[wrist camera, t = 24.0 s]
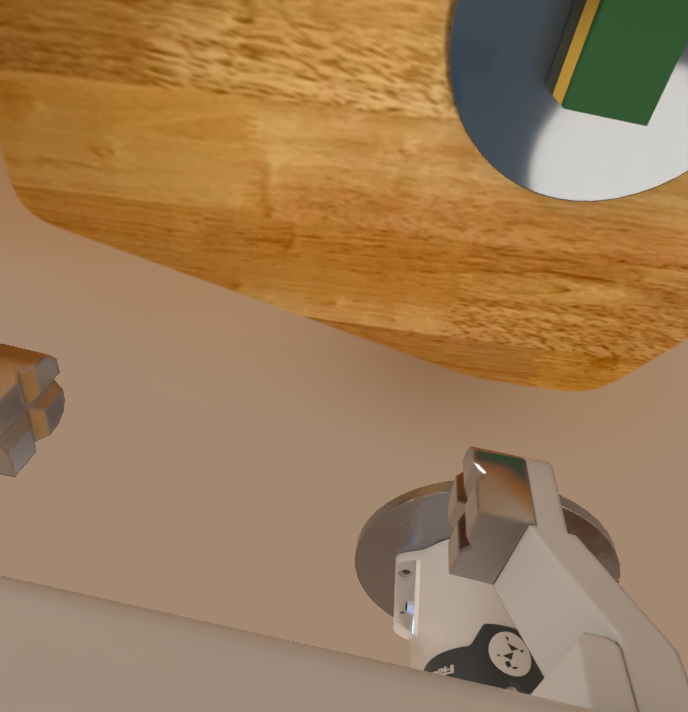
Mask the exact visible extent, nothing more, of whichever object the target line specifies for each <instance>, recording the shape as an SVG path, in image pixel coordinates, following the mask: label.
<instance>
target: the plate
mask: <svg viewBox="0 0 688 712" xmlns="http://www.w3.org/2000/svg"><path fill="white" fill-rule="evenodd" d="M586 1H587V0H457V1H456V5H455V10H454V15H453V21H452V26H451V36H450V51H449V56H450V75H451V82H452V88H453V93H454V99H455V102H456V105H457V108H458V111H459V115H460V118H461V120H462V122H463V124H464V126H465V128H466V131H467V133H468V135H469V137H470V138H471V140H472V141H473V143H474V144H475V146H476V147H477V149H478V150H479V152H480V153H481V154H482V155H483V156H484V157H485V159H486V160H487V161H488V162H489V163H490V164H491V165H492V166H493V167H494V168H495V169H496V170H498V171H499V172H500V173H501V174H502V175H504V176H505V177H506V178H508V179H509V180H511V181H513V182H514V183H516V184H518V185H519V186H521V187H523V188H525V189H528V190H530V191H532V192H535V193H537V194H540V195H544V196H548V197H551V198H555V199H562V200H569V201H602V200H612V199H617V198H621V197H626V196H630V195H635V194H638V193H641V192H644V191H646V190H649V189H652V188H655V187H657V186H660V185H662V184H664V183H666V182H668V181H671V180H673V179H675V178H677V177H678V176H680V175H682V174H684V173H685V172H687V171H688V41H687V43H686V45H685V47H684V49H683V51H682V53H681V55H680V57H679V60H678V62H677V64H676V66H675V68H674V70H673V72H672V74H671V76H670V79H669V81H668V83H667V85H666V87H665V89H664V91H663V93H662V96H661V98H660V100H659V102H658V104H657V106H656V108H655V110H654V112H653V115H652V117H651V119H650V121H649V123H648V125H647V126H643V125H638V124H634V123H629V122H624V121H620V120H615V119H610V118H605V117H601V116H596V115H591V114H586V113H582V112H577V111H572V110H567V109H564V108H563V107H562V106H561V105H560V104H559V103H558V102H557V100H556V99H555V98H554V97H553V92H554V89H555V87H556V84H557V81H558V78H559V76H560V73H561V70H562V67H563V65H564V62H565V59H566V56H567V54H568V51H569V48H570V45H571V43H572V40H573V37H574V34H575V31H576V29H577V26H578V23H579V20H580V18H581V15H582V12H583V9H584V7H585V4H586Z"/></svg>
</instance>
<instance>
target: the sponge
mask: <svg viewBox="0 0 688 712" xmlns="http://www.w3.org/2000/svg"><path fill="white" fill-rule="evenodd" d="M687 41H688V0H587V1H586V4H585V7H584V9H583V12H582V15H581V18H580V20H579V23H578V26H577V29H576V31H575V34H574V37H573V40H572V43H571V45H570V48H569V51H568V54H567V56H566V59H565V62H564V65H563V67H562V70H561V73H560V76H559V78H558V81H557V84H556V87H555V89H554V92H553V97H554V98H555V99H556V100H557V102H558V103H559V104H560V105H561V106H562V107H563V108H564V109H567V110H572V111H577V112H582V113H586V114H591V115H596V116H601V117H605V118H610V119H615V120H620V121H624V122H629V123H634V124H638V125H643V126H647V125H648V123H649V121H650V119H651V117H652V115H653V112H654V110H655V108H656V106H657V104H658V102H659V100H660V98H661V96H662V93H663V91H664V89H665V87H666V85H667V83H668V81H669V79H670V76H671V74H672V72H673V70H674V68H675V66H676V64H677V62H678V60H679V57H680V55H681V53H682V51H683V49H684V47H685V45H686V43H687Z"/></svg>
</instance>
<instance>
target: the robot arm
mask: <svg viewBox="0 0 688 712" xmlns="http://www.w3.org/2000/svg"><path fill="white" fill-rule="evenodd" d="M58 374H59V367H58V363H57V360H56V358H54V357H52V356H50V355H47V354H43V353H39V352H35V351H30V350H26V349H22V348H18V347H14V346H10V345H6V344H0V474H1V475H6V476H11V477H16V475H17V474H18V473H19V471H21V469H22V468H23V467H24V466H25V465H26V463H27V462H28V461H29V460H30V459H31V457H32V456H33V455H34V454H35V452H36V446H35V442H36V441H38V440H40V439H43V438H45V437H47V436H49V435H50V434H51V433H52V432H53V430H54V429H55V428H56V427H57V425H58V424H59V421H60V419H61V416H62V414H63V411H64V402H65V398H64V392H63V389H62V388H61V387H60V386H59V385H58V384H57V382H56V381H55V380H54V378H55V377H56V376H57V375H58ZM448 524H449V525H450V527H451V528H452V530H453V533H452V535H451V537H450V539H447V540H444V541H441V542H439V543H437V544H435V545H432V546H430V547H428V548H426V549H423V550H417V551H410V552H405V553H401V554H399V555H397V556H396V559H395V585H394V615H393V618H394V619H393V625H394V631H395V632H396V633H397V634H398V635H400V636H402V637H403V638H405V639H407V640H409V641H411V653H410V667H411V668H409V667H404V666H400V665H396V664H391V663H387V662H382V661H378V660H373V659H369V658H364V657H360V656H356V655H351V654H347V653H342V652H338V651H333V650H329V649H325V648H320V647H316V646H311V645H307V644H302V643H298V642H294V641H289V640H285V639H280V638H276V637H271V636H267V635H262V634H258V633H254V632H249V631H245V630H240V629H236V628H231V627H226V626H223V625H218V624H214V623H209V622H205V621H200V620H196V619H191V618H187V617H183V616H178V615H173V614H169V613H165V612H160V611H156V610H152V609H147V608H143V607H138V606H134V605H129V604H125V603H120V602H116V601H112V600H107V599H103V598H98V597H94V596H89V595H85V594H80V593H76V592H72V591H67V590H63V589H58V588H54V587H49V586H45V585H41V584H36V583H32V582H27V581H23V580H18V579H14V578H10V577H5V576H0V712H688V678H687V675H686V672H685V670H684V666H683V664H682V661H681V658H680V655H679V652H678V651H677V649H676V648H675V647H674V646H673V645H672V644H671V643H670V641H669V640H668V639H667V638H666V637H665V636H664V635H663V634H662V632H661V631H660V630H659V629H658V628H657V627H656V626H655V624H654V623H653V622H652V621H651V620H650V619H649V618H648V616H647V615H646V614H645V613H644V612H643V611H642V610H641V609H640V608H639V606H638V605H637V604H636V603H635V602H634V601H633V599H632V598H631V597H630V596H629V595H628V594H627V593H626V592H625V590H623V588H622V587H621V586H620V585H619V584H618V582H617V581H616V580H615V579H614V578H613V577H612V576H611V574H610V573H609V572H608V571H607V570H606V569H605V568H604V567H603V565H602V564H601V563H600V562H599V561H598V560H597V559H596V557H595V556H594V555H593V554H592V553H591V552H590V551H589V550H588V548H587V547H586V546H585V545H584V544H583V543H582V542H581V540H580V539H579V538H578V537H577V536H576V535H573V534H569V533H568V532H567V527H566V523H565V519H564V515H563V510H562V506H561V502H560V497H559V493H558V489H557V485H556V480H555V476H554V472H553V467H552V466H551V464H550V463H549V462H546V461H541V460H535V459H531V458H525V457H522V458H521V457H519V456H514V455H510V454H505V453H500V452H495V451H491V450H486V449H480V448H476V447H470V448H469V449H468V450H467V452H466V454H465V457H464V459H463V472H462V473H460V474H459V475H457V476H456V478H455V481H454V483H453V486H452V489H451V493H450V498H449V504H448Z"/></svg>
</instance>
